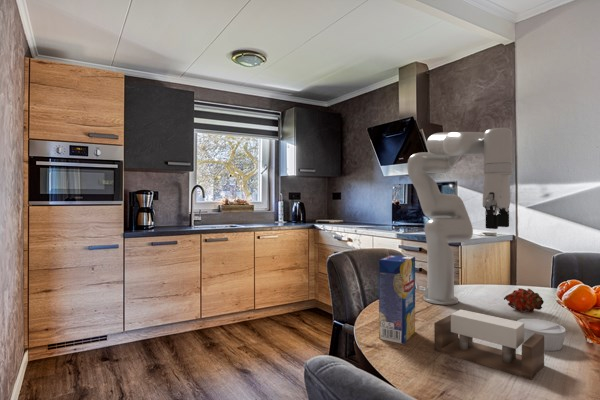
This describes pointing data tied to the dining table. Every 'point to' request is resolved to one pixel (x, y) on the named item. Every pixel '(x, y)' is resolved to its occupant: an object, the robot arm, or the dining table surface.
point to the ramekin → (545, 332)
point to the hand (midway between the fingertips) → (497, 227)
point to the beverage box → (396, 298)
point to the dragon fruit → (524, 300)
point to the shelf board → (488, 328)
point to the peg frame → (491, 351)
